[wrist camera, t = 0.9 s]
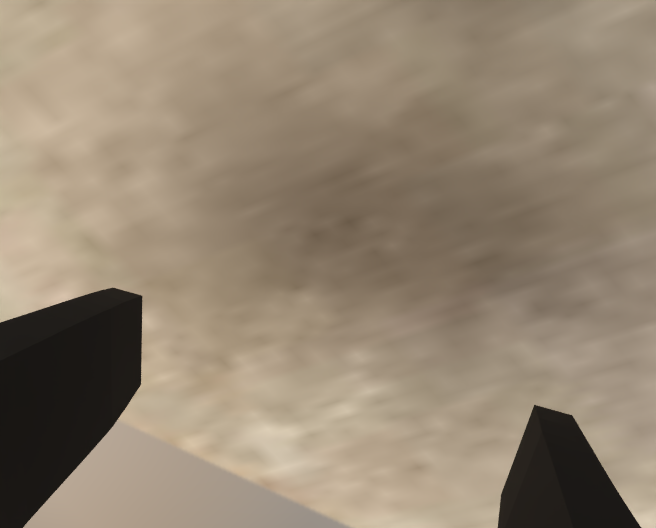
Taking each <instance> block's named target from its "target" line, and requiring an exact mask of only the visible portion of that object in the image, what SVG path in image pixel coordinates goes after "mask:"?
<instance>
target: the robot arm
mask: <svg viewBox="0 0 656 528" xmlns="http://www.w3.org/2000/svg"><path fill="white" fill-rule="evenodd" d="M141 346H142V296H141V295H137V294H134V293H130V292H127V291H123V290H119V289H116V288H110V289H106V290H101V291H98V292H94V293H91V294H87V295H84V296H81V297H78V298H74V299H71V300H68V301H65V302H62V303H59V304H56V305H53V306H50V307H47V308H44V309H41V310H38V311H35V312H32V313H29V314H26V315H22V316H19V317H16V318H13V319H10V320H7V321H4V322H1V323H0V528H23V527H24V525H25V524H26V523H27V522H28V521H29V520H30V519H31V517H32V516H33V515H34V514H35V513H36V512H37V511H38V510H39V508H40V507H41V506H42V505H43V504H44V503H45V502H46V501H47V500H48V498H49V497H50V496H51V495H52V494H53V493H54V492H55V491H56V490H57V489H58V488H59V486H60V485H61V484H62V483H63V482H64V481H65V479H67V478H68V476H69V475H70V474H71V473H72V472H73V471H74V470H75V469H76V468H77V466H78V465H79V464H80V463H81V462H82V461H83V460H84V459H85V458H86V456H87V455H88V454H89V453H90V452H91V451H92V450H93V449H94V447H95V446H96V445H97V444H98V443H99V442H100V441H101V439H102V438H103V437H104V436H105V435H106V434H107V433H108V431H109V430H110V429H111V428H112V427H113V425H114V424H115V422H116V421H117V420H118V418H119V417H120V415H121V414H122V412H123V411H124V410H125V408H126V407H127V405H128V404H129V402H130V400H131V399H132V397H133V396H134V394H135V393H136V391H137V390H138V388H139V387H140V385H141ZM498 528H641V527H640V525H639V524H638V522H637V521H636V519H635V518H634V516H633V515H632V513H631V512H630V510H629V509H628V507H627V506H626V504H625V502H624V501H623V499H622V498H621V496H620V495H619V493H618V491H617V490H616V488H615V487H614V485H613V483H612V482H611V480H610V478H609V477H608V475H607V473H606V472H605V470H604V468H603V467H602V465H601V463H600V462H599V460H598V458H597V457H596V455H595V453H594V451H593V450H592V448H591V446H590V445H589V443H588V441H587V440H586V438H585V436H584V434H583V433H582V431H581V429H580V428H579V426H578V424H577V423H576V421H575V419H574V418H573V416H572V415H569V414H565V413H562V412H558V411H554V410H551V409H547V408H544V407H540V406H536V405H534V408H533V410H532V413H531V416H530V418H529V421H528V424H527V426H526V429H525V432H524V435H523V437H522V440H521V443H520V445H519V448H518V451H517V454H516V456H515V459H514V462H513V464H512V467H511V470H510V472H509V475H508V478H507V481H506V483H505V486H504V489H503V491H502V494H501V502H500V512H499V521H498Z"/></svg>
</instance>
